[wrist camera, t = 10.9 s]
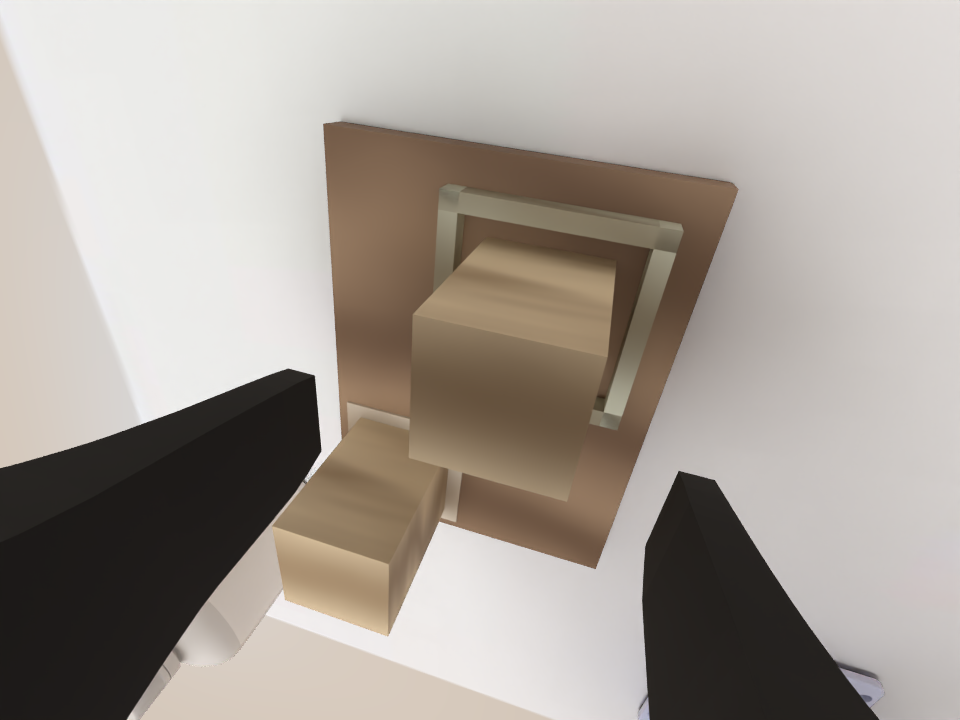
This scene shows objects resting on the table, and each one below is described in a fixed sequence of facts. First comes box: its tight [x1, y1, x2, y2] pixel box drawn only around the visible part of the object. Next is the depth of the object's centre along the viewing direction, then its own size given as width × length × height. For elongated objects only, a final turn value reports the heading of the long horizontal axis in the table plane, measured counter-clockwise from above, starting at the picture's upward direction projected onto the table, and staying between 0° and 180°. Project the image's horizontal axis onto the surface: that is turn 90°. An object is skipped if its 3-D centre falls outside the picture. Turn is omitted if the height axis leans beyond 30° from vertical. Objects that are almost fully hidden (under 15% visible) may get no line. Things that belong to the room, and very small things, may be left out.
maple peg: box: [409, 237, 617, 502], centre depth 13 cm, size 4×4×6 cm
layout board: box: [272, 122, 739, 636], centre depth 16 cm, size 16×12×7 cm
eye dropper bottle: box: [127, 482, 306, 720], centre depth 21 cm, size 4×6×12 cm
